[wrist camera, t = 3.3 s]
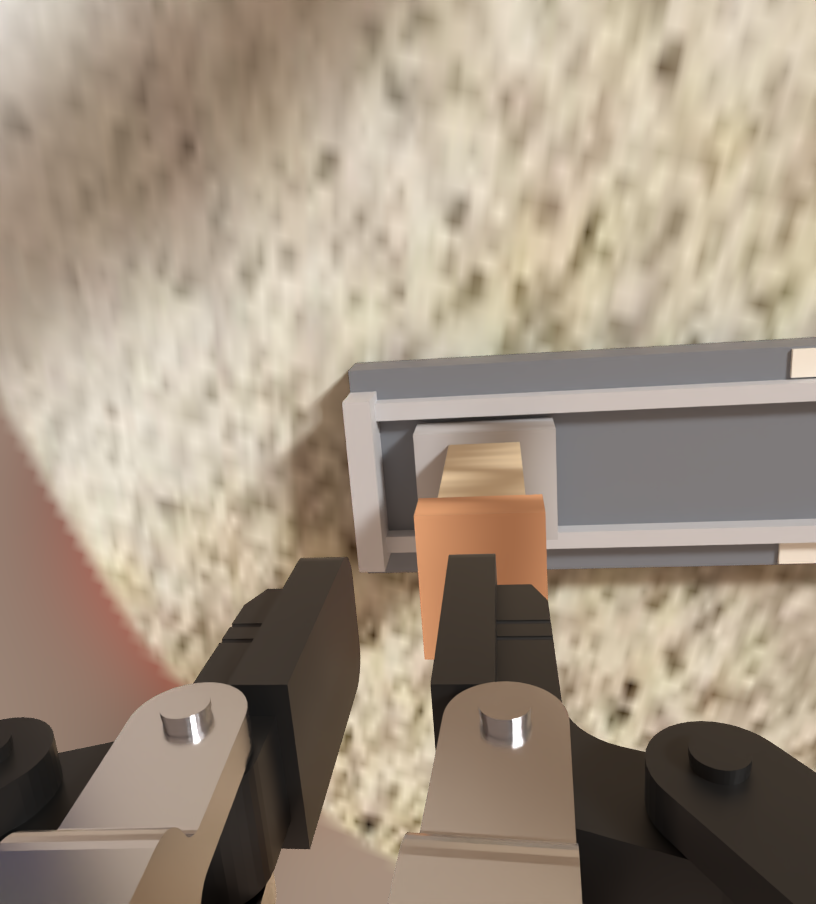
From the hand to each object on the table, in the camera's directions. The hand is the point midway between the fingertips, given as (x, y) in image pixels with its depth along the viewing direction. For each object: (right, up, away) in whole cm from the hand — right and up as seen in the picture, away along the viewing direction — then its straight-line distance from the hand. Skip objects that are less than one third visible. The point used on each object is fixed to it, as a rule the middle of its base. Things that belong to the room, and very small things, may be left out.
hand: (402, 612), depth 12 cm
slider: (+4, +2, +23) cm, 23 cm away
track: (+12, +3, +24) cm, 27 cm away
